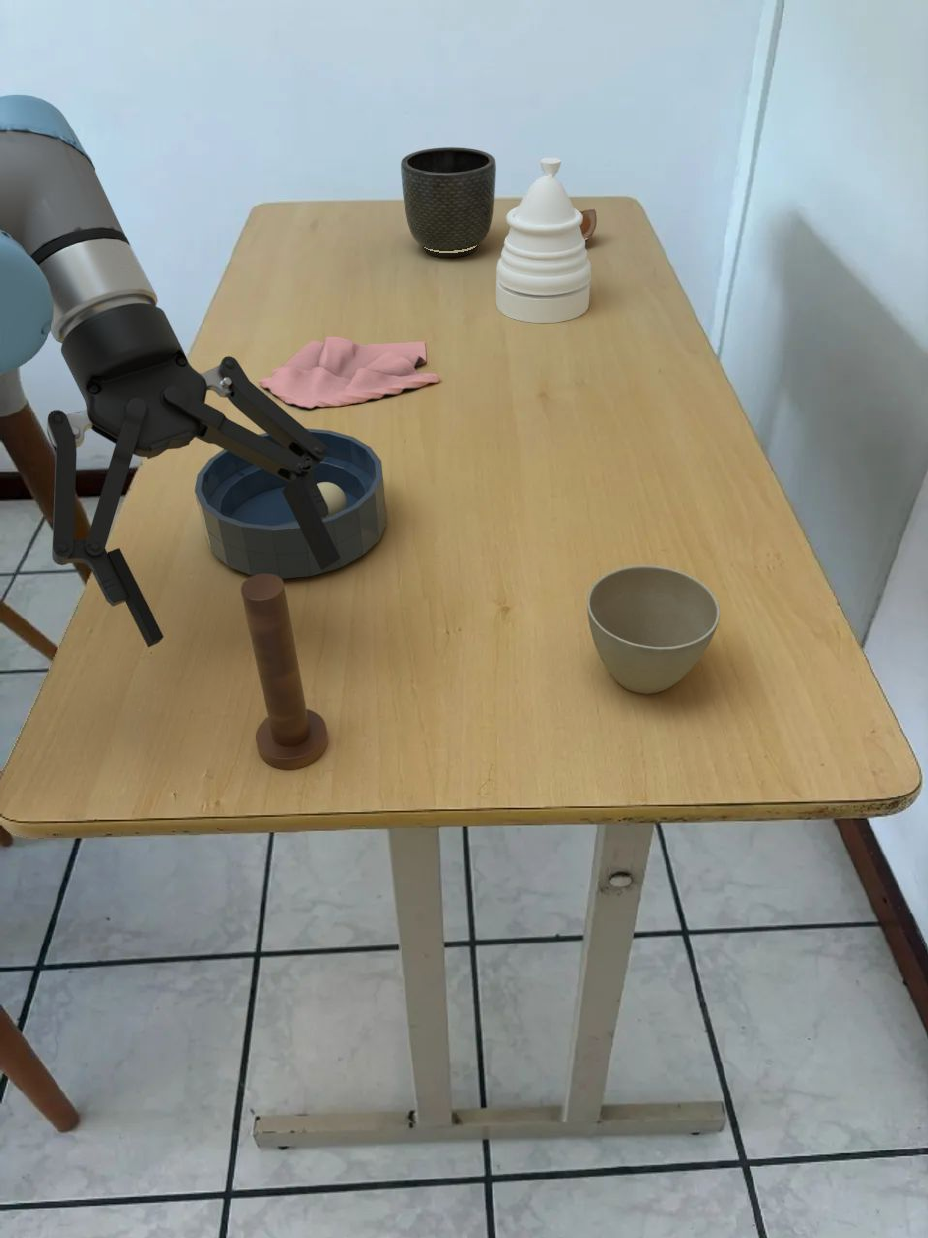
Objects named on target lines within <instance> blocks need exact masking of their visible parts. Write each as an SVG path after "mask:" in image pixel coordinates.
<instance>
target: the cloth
mask: <svg viewBox="0 0 928 1238" xmlns="http://www.w3.org/2000/svg"><path fill="white" fill-rule="evenodd" d="M425 363H427V349H426V341H409V342H408V341H407V342H406V341H405V342H392V343H391V342H390V343H374V344H359V343H358V342H355V341H352V340H351V339H348V338H344V337H341V336H325V338H324V341H318V340H311V341H309V342H308V343H307V344H305V345H304V346H303V347H302V348H301V349H300V350H299V351H297V352H296V353H295V354H294V355H293V356H292V357H290V359H288V361H286V362H285V363H284V364H283V365H281V366H278V367H276V368H274V369H273V370H272V371H271V376H268V377H262V378H260V380H259V381H258V382H257V383H258V384H259V386H260V387H261V388H262V389H263V390H267V391H268V392H269V393H270V394H271V395H272V396H276V397H277V398H278V399H280V400H281V401H282V402H283V403H284V404H287V405H295V406H297V407H298V408H301V409H307V410H312V409H313V408H315V407H317V408H331V407H343V406H349V405H352V404H362V403H366V402H368V401H371V400H380V399H383V398H386V397H388V396H391V395H393V396H394V395H395V396H396V395H401V394H403V393H405V392H407V391H410V390H413V389H421V388H424V387H426V386H427V385H428V384H434V383H435V384H437V383H439V381H440V380H439V379H440V378H439V377H440V376H439V375H438V374H435V373H432V372H423V373H420V372H418V371H417V370H416V368H415V367H419V366H421V365H423V364H425Z"/></svg>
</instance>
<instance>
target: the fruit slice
mask: <svg viewBox="0 0 928 1238" xmlns="http://www.w3.org/2000/svg"><path fill="white" fill-rule="evenodd" d="M579 211H580V213H581V214H582V216H583V220H582V223H581V224H580V225H579V226H580V230H581V233H582V237H583V238H584V239H585V238H589V237H590V236H591V237H592V235H593V234H594V232H595V231H596V228H597V222H598V221H597V218H598V217H597V212H596V209H594V208H593V209H592V208H590V209H584V210H579ZM591 237H590V238H591ZM590 238H589V239H590Z"/></svg>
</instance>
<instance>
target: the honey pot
mask: <svg viewBox="0 0 928 1238" xmlns="http://www.w3.org/2000/svg"><path fill="white" fill-rule="evenodd" d="M561 163H562V160H561V159H560V158H557V157H543V158H542V159H540V168H541V171H542V173H543V174H544V175H542V176H540V177H538V178H537V179H536V180H535V181H533V183H532V184H531V185H530V186H529V187H528V189H527V190H526V192H525V194H524V195H523V197H522V199H521V201H520V202H519V205H518V206H516V207H513V208H511V209H510V210H509V211H508V212H507V214H506V217H505V221H506V223H507V225H508V226H509V227H510V228H509V230H508V234H507V235H506V237H505V238H504V241H503V245H504V246H503V247H502V249H501V254H500V257H499V258H498V260H497V264H496V267H495V272H496V275H495V278H496V280H495V306H496V309H497V310H498V311H499V312H500V313H501V314H502V315H504V316H506V317H508V318H510V319H512V320H513V319H514V320H516V321H519V322H525V323H530V324H555V323H556V324H557V323H562V322H568V321H570V320H573V319H574V320H575V319H576V318H579V317H580V316H582V315H584V314H586V312H587V310H588V309H589V306H590V292H591V278H592V276H591V275H592V274H591V273H592V264H591V262H590V260H589V259H588V250H587V249H586V242H585V240H584V238H583V237H582V233H581V230H580V226H579V225H580V224H581V223H582V220H583V216H582V214H581V213H580V211H581V210H578V209H577V208H575V207H574V206H573V203H572V200H571V199H570V196H569V195H568V193H567V191H566V189H565V188H564V186H563V185H562V184H561V182H560V181H559V180H558V179H557V178H555V176H556V174H557V173H558V172H559V169H560V167H561Z"/></svg>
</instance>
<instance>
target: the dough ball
mask: <svg viewBox="0 0 928 1238" xmlns="http://www.w3.org/2000/svg"><path fill="white" fill-rule="evenodd" d="M317 486H318V488H319V490H320V492H321V494H322V496H323V498H324V500H325V502H326V504H327V506H328V512H329V514H328V515H327V516H326V517H325V518H327V517H331V516H333V515H335V514H337V513H339V512H341V511H343V510H345V509H346V508H347V499H346V496H345V494H344V492H343V491H342V489H341V488H340V487H338V486H337V485H335V484H333V483H329V482H322V483H318V484H317Z"/></svg>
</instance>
